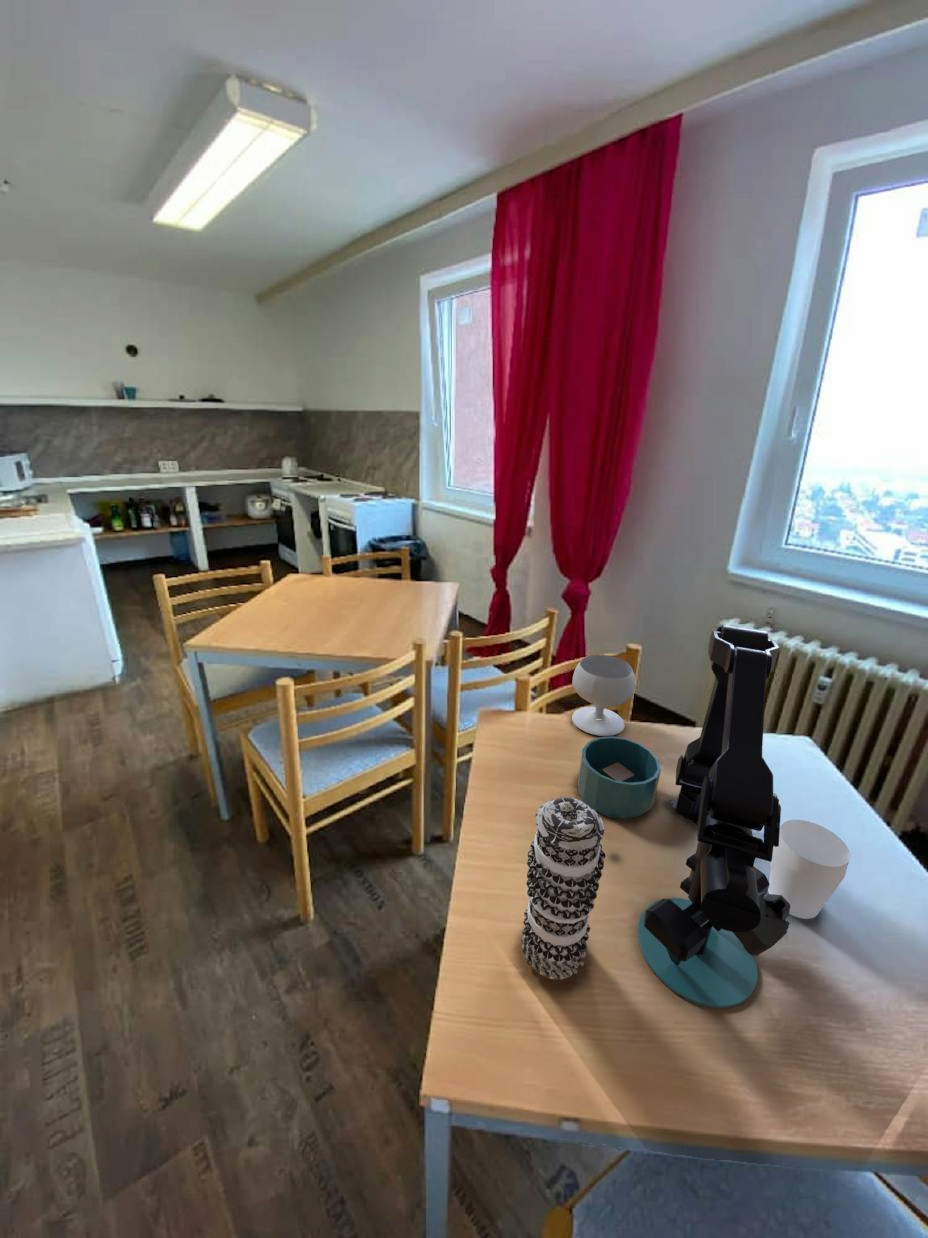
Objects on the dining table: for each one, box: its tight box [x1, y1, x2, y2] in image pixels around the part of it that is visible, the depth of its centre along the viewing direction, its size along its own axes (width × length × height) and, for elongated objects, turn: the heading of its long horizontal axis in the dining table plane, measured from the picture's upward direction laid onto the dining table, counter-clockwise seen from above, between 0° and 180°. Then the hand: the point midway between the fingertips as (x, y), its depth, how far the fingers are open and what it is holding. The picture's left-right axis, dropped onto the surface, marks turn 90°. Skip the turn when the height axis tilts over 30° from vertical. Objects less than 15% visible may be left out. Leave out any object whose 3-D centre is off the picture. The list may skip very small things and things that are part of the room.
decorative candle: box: [521, 797, 606, 981], centre depth 66 cm, size 9×9×25 cm
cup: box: [767, 819, 851, 920], centre depth 77 cm, size 9×9×12 cm
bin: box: [577, 735, 662, 820], centre depth 99 cm, size 14×14×8 cm
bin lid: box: [637, 897, 759, 1009], centre depth 70 cm, size 15×15×6 cm
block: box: [601, 762, 635, 783], centre depth 100 cm, size 4×4×4 cm
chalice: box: [571, 654, 636, 737], centre depth 120 cm, size 14×14×15 cm
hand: (695, 945), depth 71 cm, fingers open, 9 cm apart
